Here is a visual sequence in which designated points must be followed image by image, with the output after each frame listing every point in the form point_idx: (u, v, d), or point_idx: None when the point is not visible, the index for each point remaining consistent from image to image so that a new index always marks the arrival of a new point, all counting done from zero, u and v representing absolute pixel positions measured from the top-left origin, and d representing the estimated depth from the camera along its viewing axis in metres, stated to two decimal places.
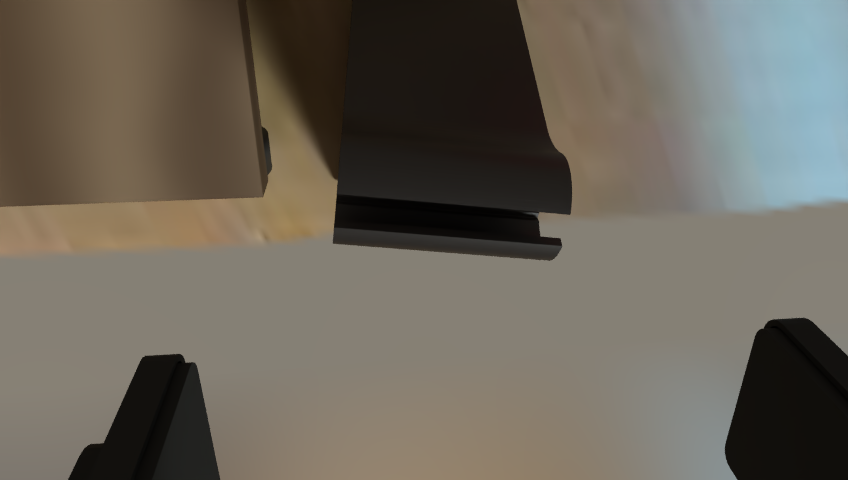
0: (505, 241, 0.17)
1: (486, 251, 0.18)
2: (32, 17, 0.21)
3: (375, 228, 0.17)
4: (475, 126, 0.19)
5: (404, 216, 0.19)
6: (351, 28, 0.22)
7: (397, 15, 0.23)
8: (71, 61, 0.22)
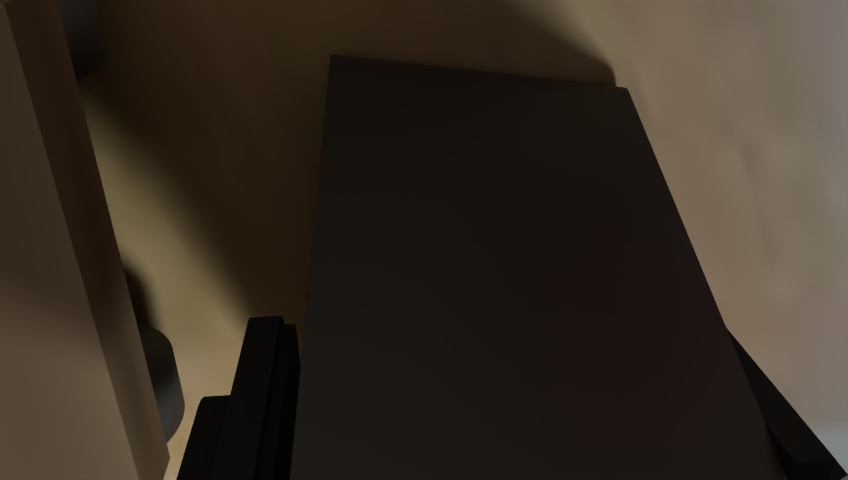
0: None
1: None
2: None
3: None
4: None
5: None
6: (316, 225, 0.10)
7: (415, 179, 0.11)
8: None
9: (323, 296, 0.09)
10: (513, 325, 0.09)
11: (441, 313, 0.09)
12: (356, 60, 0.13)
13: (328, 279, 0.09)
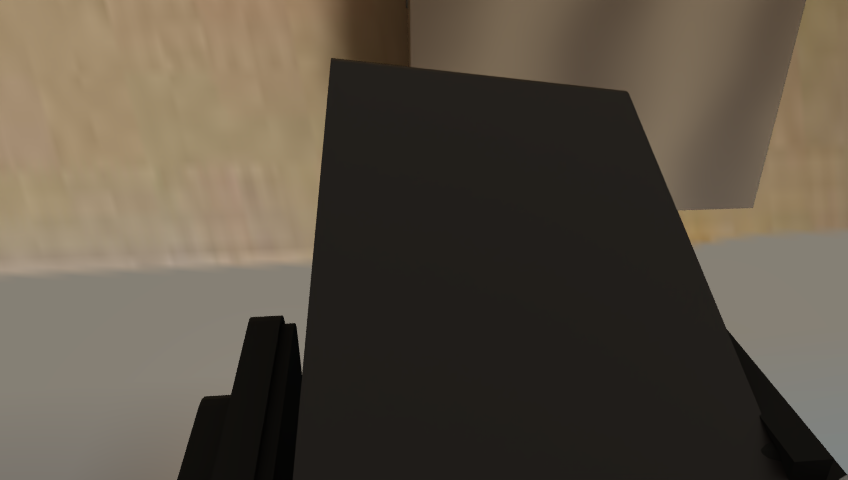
0: None
1: None
2: (624, 52, 0.24)
3: None
4: None
5: None
6: (317, 230, 0.10)
7: (417, 184, 0.11)
8: (641, 90, 0.25)
9: (324, 302, 0.09)
10: (515, 330, 0.09)
11: (443, 318, 0.09)
12: (357, 64, 0.13)
13: (329, 284, 0.09)
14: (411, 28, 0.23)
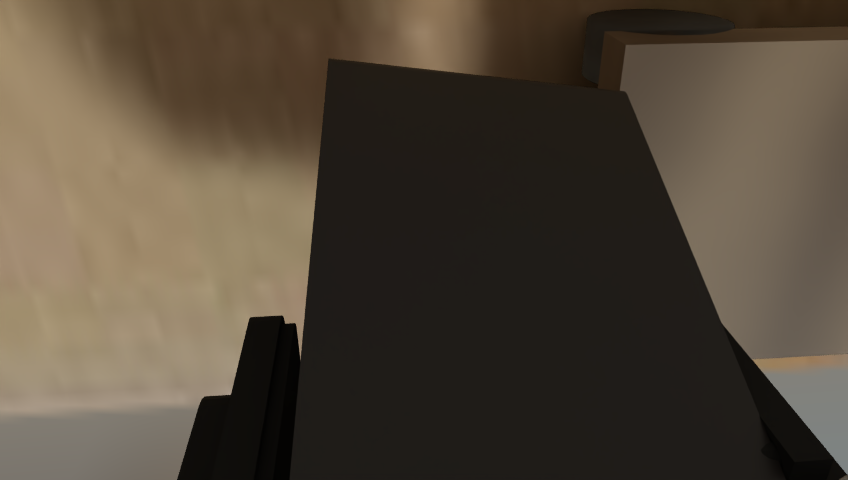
0: None
1: None
2: None
3: None
4: None
5: None
6: (315, 231, 0.10)
7: (414, 185, 0.11)
8: None
9: (322, 303, 0.09)
10: (512, 332, 0.09)
11: (440, 320, 0.09)
12: (354, 64, 0.13)
13: (326, 286, 0.09)
14: None
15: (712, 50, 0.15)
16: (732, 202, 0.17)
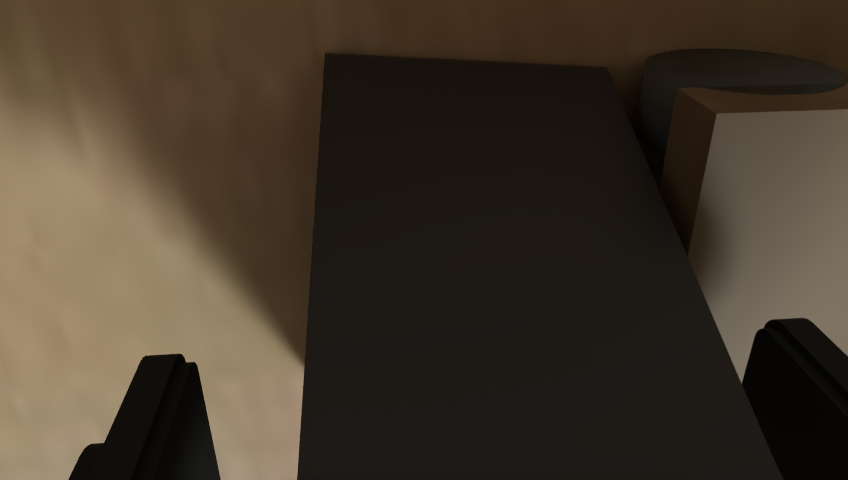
0: None
1: None
2: None
3: None
4: (612, 476, 0.08)
5: None
6: (317, 208, 0.11)
7: (407, 163, 0.12)
8: None
9: (325, 271, 0.10)
10: (499, 288, 0.10)
11: (433, 281, 0.10)
12: (349, 57, 0.14)
13: (329, 256, 0.10)
14: (698, 210, 0.11)
15: (834, 119, 0.11)
16: (843, 311, 0.13)
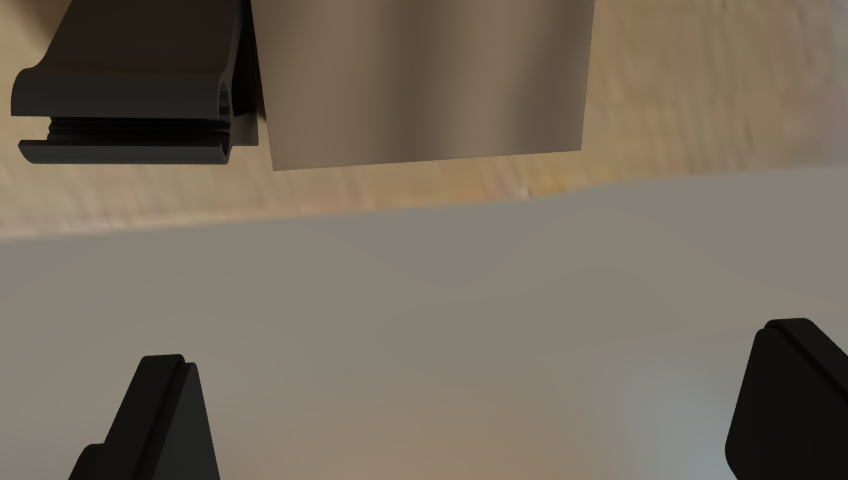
0: (169, 146, 0.21)
1: (160, 158, 0.22)
2: (445, 12, 0.28)
3: (54, 144, 0.21)
4: (161, 60, 0.23)
5: (108, 140, 0.23)
6: None
7: None
8: (465, 46, 0.28)
9: (73, 10, 0.25)
10: (145, 16, 0.25)
11: (118, 13, 0.25)
12: None
13: (76, 6, 0.25)
14: None
15: None
16: (339, 50, 0.28)
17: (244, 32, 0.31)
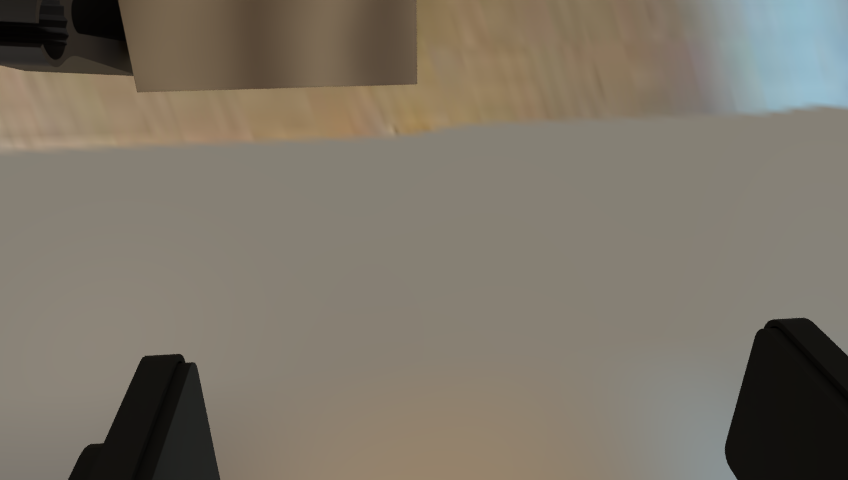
0: None
1: None
2: None
3: None
4: None
5: None
6: None
7: None
8: None
9: None
10: None
11: None
12: None
13: None
14: None
15: None
16: None
17: None
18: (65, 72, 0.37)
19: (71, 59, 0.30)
